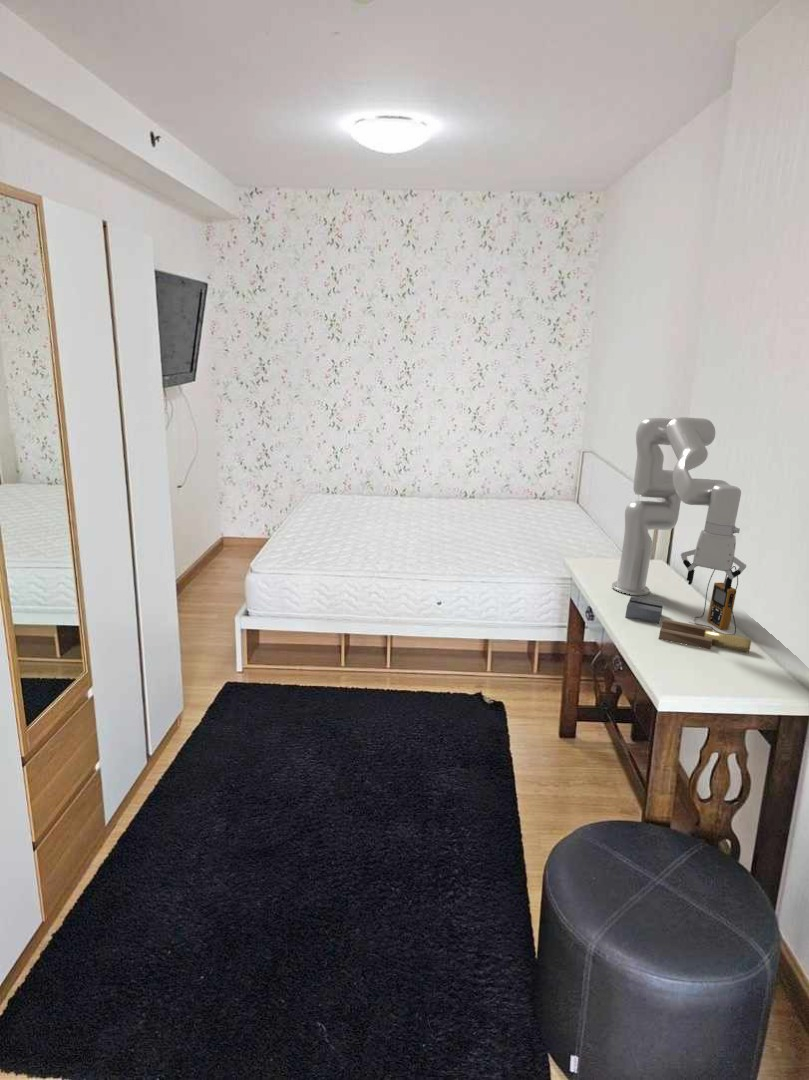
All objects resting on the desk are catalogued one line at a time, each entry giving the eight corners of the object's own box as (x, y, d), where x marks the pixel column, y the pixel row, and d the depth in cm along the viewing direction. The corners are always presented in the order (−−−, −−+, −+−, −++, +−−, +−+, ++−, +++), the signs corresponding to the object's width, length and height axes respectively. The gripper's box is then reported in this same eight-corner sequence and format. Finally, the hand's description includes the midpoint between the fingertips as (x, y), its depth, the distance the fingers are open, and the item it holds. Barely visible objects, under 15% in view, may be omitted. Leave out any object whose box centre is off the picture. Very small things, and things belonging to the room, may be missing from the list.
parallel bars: (661, 626, 220) (663, 618, 219) (711, 636, 214) (712, 628, 214) (658, 638, 209) (660, 630, 209) (710, 649, 204) (712, 641, 204)
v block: (629, 608, 234) (631, 596, 233) (661, 614, 230) (663, 602, 229) (625, 617, 225) (627, 605, 224) (658, 624, 221) (660, 612, 220)
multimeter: (679, 617, 229) (690, 556, 224) (707, 617, 231) (719, 557, 226) (707, 635, 215) (719, 571, 210) (736, 635, 217) (749, 571, 212)
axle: (702, 646, 209) (704, 637, 206) (704, 635, 211) (706, 627, 209) (747, 655, 205) (750, 647, 202) (748, 644, 207) (751, 636, 204)
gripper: (753, 532, 201) (741, 590, 206) (688, 521, 209) (678, 577, 214) (751, 537, 195) (739, 597, 199) (684, 525, 203) (674, 583, 207)
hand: (707, 587), depth 206 cm, fingers open, 9 cm apart
